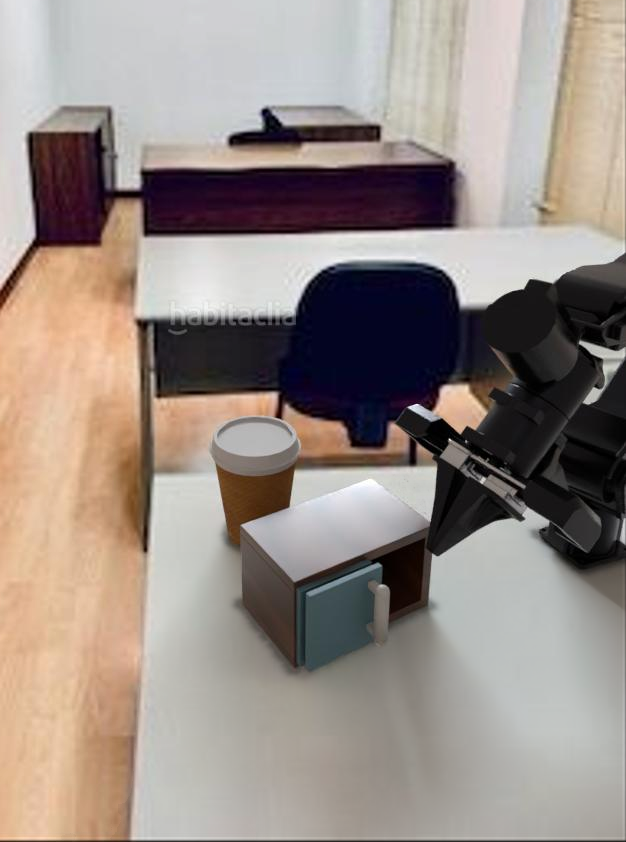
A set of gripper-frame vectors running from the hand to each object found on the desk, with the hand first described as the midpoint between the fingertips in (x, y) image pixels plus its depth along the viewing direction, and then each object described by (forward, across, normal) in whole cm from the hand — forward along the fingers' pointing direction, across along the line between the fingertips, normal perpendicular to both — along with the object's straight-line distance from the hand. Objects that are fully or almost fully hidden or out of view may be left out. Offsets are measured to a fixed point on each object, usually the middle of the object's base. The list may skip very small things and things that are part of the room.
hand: (431, 552), depth 64 cm
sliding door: (+11, +1, -1) cm, 12 cm away
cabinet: (+10, +8, -3) cm, 13 cm away
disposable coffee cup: (+10, +21, -3) cm, 23 cm away
